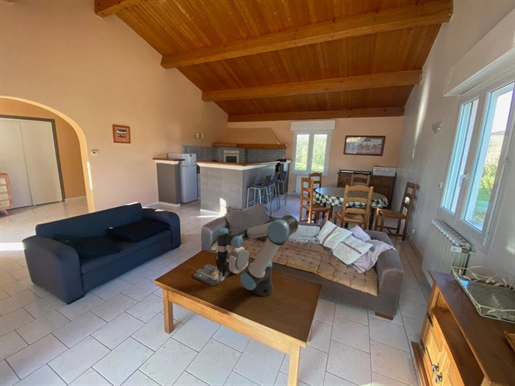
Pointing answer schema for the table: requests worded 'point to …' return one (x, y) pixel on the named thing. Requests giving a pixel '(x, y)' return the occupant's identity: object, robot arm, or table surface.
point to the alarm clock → (238, 260)
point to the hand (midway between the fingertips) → (222, 279)
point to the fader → (214, 275)
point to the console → (208, 275)
